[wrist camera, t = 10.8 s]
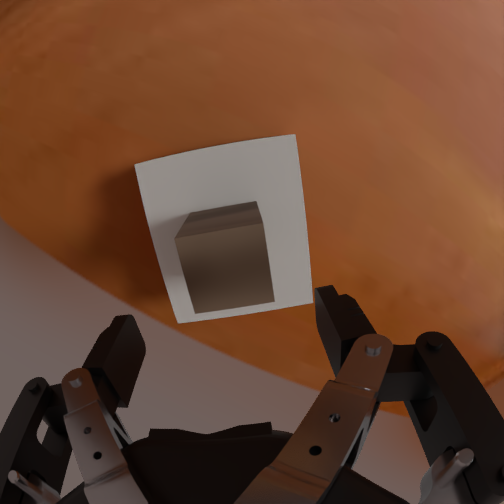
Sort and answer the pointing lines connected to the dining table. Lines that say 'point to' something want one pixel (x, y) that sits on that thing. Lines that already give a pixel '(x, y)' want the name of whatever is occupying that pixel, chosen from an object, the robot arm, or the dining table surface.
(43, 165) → the dining table surface
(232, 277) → the walnut block
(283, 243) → the block
